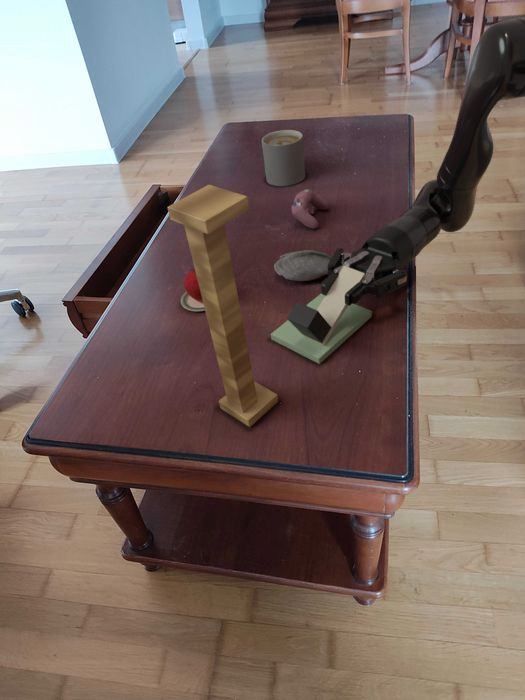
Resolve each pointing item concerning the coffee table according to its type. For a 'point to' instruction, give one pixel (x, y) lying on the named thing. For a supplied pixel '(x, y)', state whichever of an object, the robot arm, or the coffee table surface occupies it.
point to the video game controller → (307, 207)
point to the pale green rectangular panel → (342, 331)
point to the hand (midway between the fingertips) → (335, 295)
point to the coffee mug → (283, 157)
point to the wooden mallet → (325, 308)
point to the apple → (192, 293)
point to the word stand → (222, 296)
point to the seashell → (303, 265)
